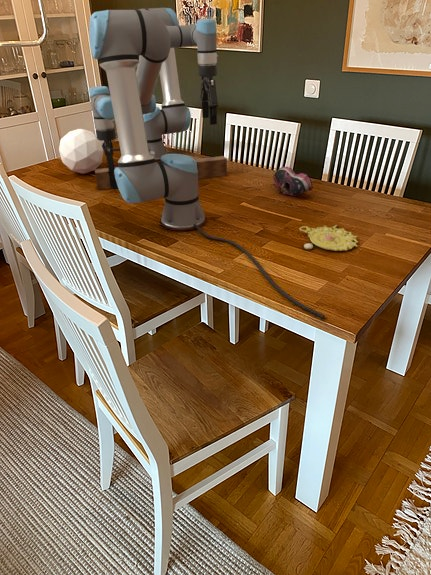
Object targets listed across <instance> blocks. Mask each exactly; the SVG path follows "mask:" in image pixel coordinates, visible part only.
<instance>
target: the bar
mask: <svg viewBox="0 0 431 575" xmlns="http://www.w3.org/2000/svg"><path fill="white" fill-rule="evenodd" d="M194 159H195V160H196V163H197V171H198V180H199V179H207V178H215V177H225V176H228V159H227V158H226V157H225V155H220V156H211V157H210V156H209V157H201V158H194ZM114 168H115V169H116V168H119V166H115V167H114ZM108 171H109V169H108V167H104V168H96V169H95V170H94V173H95V174H94V175H95V180H96V186H97V190H98V191H100V190H109V189H110V190H111V189H112V188H111V184H110V178H109V173H107V172H108ZM113 189H119V188H118V186H117V187H114V188H113Z"/></svg>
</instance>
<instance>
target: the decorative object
mask: <svg viewBox="0 0 431 575" xmlns="http://www.w3.org/2000/svg"><path fill="white" fill-rule="evenodd" d="M303 228H304V229H305V230H304V229H303ZM299 231H300V232H303V233H305V234H307V237H308V238H309V240H310V241H311V243H304V244H303V248H304V249H305V250H313V249H314V245H315V246H316V247H318V248H321V249H324V250H328V251H335V252H341V251H348V250H352V249H354V247H356V248H358V247H359V245H358V244H357V243H359V240H357V238H359V237H358V235H353V234H352V231H347V230H346V229H345V228H344V227H342V228H338V224H335V225H333V226H331V227H328V226H327V225H326V224H325V225H323V226H322V227H321V226H317V227H316V228H314V227H309V226H308V225H302V226H300V227H299ZM313 244H314V245H313Z"/></svg>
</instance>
